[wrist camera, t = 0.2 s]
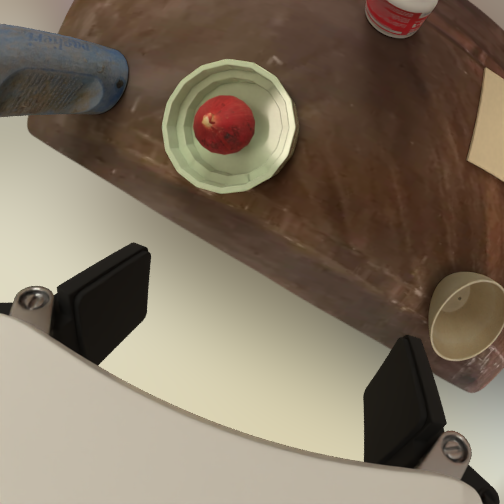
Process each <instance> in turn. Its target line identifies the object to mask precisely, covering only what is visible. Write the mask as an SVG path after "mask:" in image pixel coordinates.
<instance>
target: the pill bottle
mask: <svg viewBox="0 0 504 504" xmlns="http://www.w3.org/2000/svg"><path fill="white" fill-rule="evenodd" d="M437 3H438V0H366V4H365V13H366V16H367V19H368V20H369V22H370V23H371V24H372V26H373V27H374V28H376V29H377V30H378V31H379V32H381V33H383V34H385V35H387V36H390V37H394V38H406V37H409V36H411V35H413V34H414V33H415V32H416V31H417V30H418V29H419V27H420V26H421V25H422V23H423V22H424V21H425V20H426V18H427V17H428V16H429V14H430V13H431V12H432V10H433V9H434V8H435V6H436V4H437Z"/></svg>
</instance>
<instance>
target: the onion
mask: <svg viewBox="0 0 504 504" xmlns="http://www.w3.org/2000/svg"><path fill="white" fill-rule="evenodd" d="M193 130H194V134H195V137H196V139H197V140H198V142H199V143H200V144H201V146H203V147H204V148H205V149H207V150H208V151H210V152H212V153H217V154H222V155H227V154H232V153H237V152H239V151H240V150H241V149H243V148H244V147H246V146H247V145H248V144H249V143H250V141H251V139H252V137H253V135H254V134H255V119H254V116H253V113H252V110H251V109H250V108H249V107H248V105H247V104H246V103H245V102H244V101H242V100H240V99H238V98H237V97H235V96H231V95H219V96H216V97H213V98H211V99H209V100H207V101H206V102H205V103H204V104H203V105H201V106H200V107H199V109H198V111H197V113H196V114H195V116H194V123H193Z"/></svg>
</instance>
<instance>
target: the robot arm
mask: <svg viewBox="0 0 504 504" xmlns="http://www.w3.org/2000/svg"><path fill="white" fill-rule="evenodd" d="M150 262H151V254H150V253H149V252H148V249H147V248H146V247H144V246H142V245H139V244H136V243H131V244H129V245H127V246H125V247H124V248H122V249H120V250H118V251H117V252H115V253H113V254H111V255H109V256H108V257H106V258H104V259H103V260H101V261H99V262H97V263H96V264H94V265H92V266H91V267H89V268H87V269H86V270H84V271H82V272H81V273H79V274H77V275H76V276H74V277H72V278H71V279H69V280H67V281H66V282H64V283H63V284H61V285H59V286H58V287H57V292H58V293H57V294H55V295H53V293H52V291H50V290H49V289H47V288H45V287H41V286H31V287H27V288H25V289H23V290H21V291H20V292H19V293H18V294H17V295H16V297H15V298H14V302H13V303H0V504H499V496H498V493H497V492H496V490H495V489H494V488H493V487H492V486H490V484H489V483H488V482H487V481H485V480H484V479H483V478H482V477H481V476H480V475H479V474H478V473H477V472H476V471H474V469H472V468H471V467H470V466H469V465H468V464H469V462H470V459H471V456H472V452H471V447H470V444H469V443H468V441H467V439H465V437H464V436H463V435H461V434H460V433H458V432H455V431H446V432H444V428H443V427H444V426H445V425H446V419H445V415H444V411H443V407H442V404H441V400H440V397H439V393H438V390H437V386H436V383H435V380H434V377H433V373H432V370H431V367H430V364H429V361H428V358H427V355H426V352H425V350H424V347H423V344H422V341H421V339H419V338H416V337H413V336H409V335H405V336H404V337H403V338H402V337H400V338H399V339H398V340H397V342H396V343H395V345H394V347H393V348H392V350H391V351H390V353H389V355H388V356H387V358H386V359H385V361H384V363H383V364H382V366H381V367H380V369H379V370H378V372H377V373H376V375H375V376H374V378H373V379H372V380H371V382H370V383H369V385H368V386H367V388H366V389H365V392H364V397H363V398H364V399H363V400H364V462H360V461H355V460H349V459H343V458H338V457H333V456H327V455H323V454H318V453H314V452H309V451H305V450H301V449H297V448H294V447H289V446H286V445H282V444H279V443H275V442H272V441H268V440H265V439H262V438H259V437H255V436H252V435H249V434H246V433H243V432H240V431H237V430H234V429H232V428H228V427H226V426H223V425H221V424H218V423H215V422H213V421H210V420H207V419H205V418H203V417H200V416H198V415H195V414H193V413H190V412H188V411H186V410H183V409H181V408H179V407H177V406H174V405H172V404H170V403H168V402H166V401H163V400H161V399H159V398H157V397H155V396H153V395H151V394H149V393H147V392H145V391H143V390H141V389H139V388H137V387H135V386H133V385H131V384H129V383H127V382H126V381H123V380H122V379H120V378H118V377H116V376H115V375H113V374H111V373H109V372H108V371H106V370H104V369H102V368H101V367H99V366H98V365H99V364H100V363H101V362H102V361H103V360H104V359H105V358H106V357H107V356H108V355H109V354H110V353H111V352H112V351H113V350H114V348H116V347H117V346H118V345H119V344H120V343H121V342H122V341H123V340H124V339H125V338H126V337H127V336H128V335H129V334H130V333H131V332H132V331H133V330H134V329H135V328H136V327H137V326H138V325H139V324H140V323H141V322H142V321H143V320H144V318H145V316H146V313H147V300H148V285H149V273H150Z"/></svg>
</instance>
